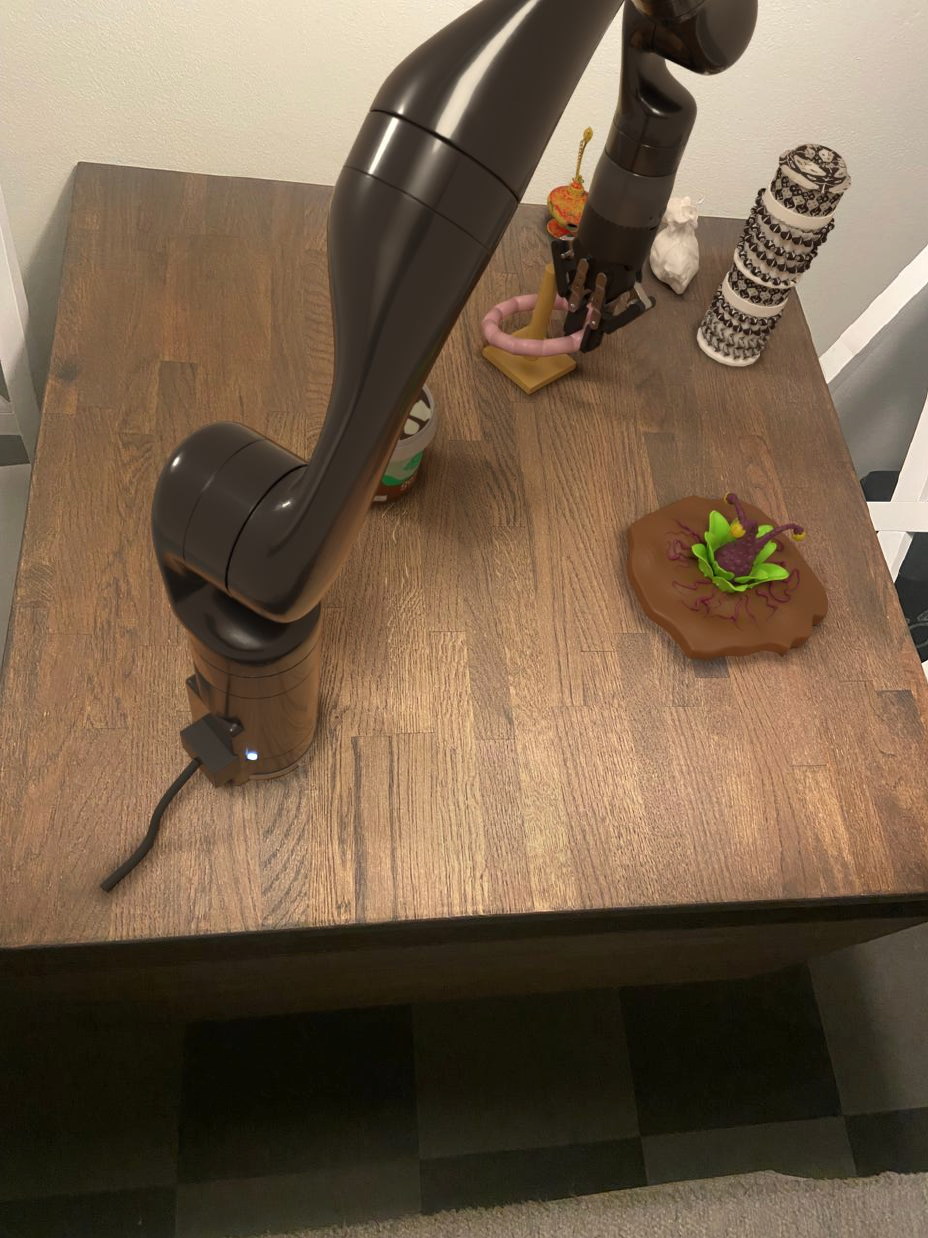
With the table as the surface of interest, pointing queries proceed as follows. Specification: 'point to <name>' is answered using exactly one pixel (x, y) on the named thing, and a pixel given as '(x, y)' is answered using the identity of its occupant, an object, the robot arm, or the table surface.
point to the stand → (527, 368)
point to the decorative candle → (774, 252)
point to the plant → (723, 578)
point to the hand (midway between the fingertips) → (579, 343)
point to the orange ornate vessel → (568, 200)
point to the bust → (677, 245)
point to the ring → (528, 345)
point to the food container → (408, 451)
